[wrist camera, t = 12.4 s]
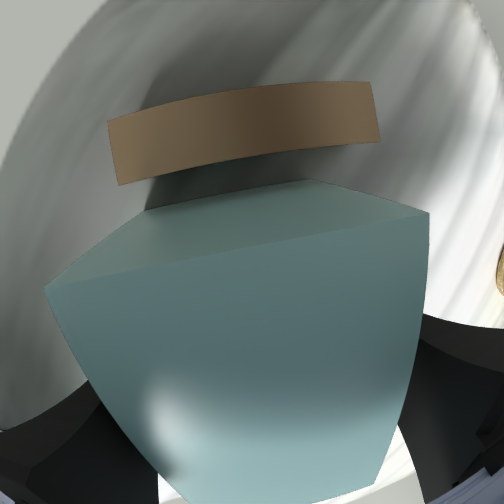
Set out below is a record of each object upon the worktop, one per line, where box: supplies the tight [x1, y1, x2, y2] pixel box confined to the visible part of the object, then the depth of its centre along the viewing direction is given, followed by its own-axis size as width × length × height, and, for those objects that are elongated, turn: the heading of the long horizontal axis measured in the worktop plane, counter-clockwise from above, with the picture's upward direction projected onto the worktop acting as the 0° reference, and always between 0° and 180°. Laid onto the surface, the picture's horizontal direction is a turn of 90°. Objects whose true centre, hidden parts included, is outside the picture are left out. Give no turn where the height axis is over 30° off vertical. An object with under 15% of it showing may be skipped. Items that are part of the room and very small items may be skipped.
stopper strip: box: [107, 82, 380, 186], centre depth 9 cm, size 8×2×2 cm, turn 100°
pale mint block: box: [43, 179, 429, 504], centre depth 9 cm, size 6×10×7 cm, turn 10°
